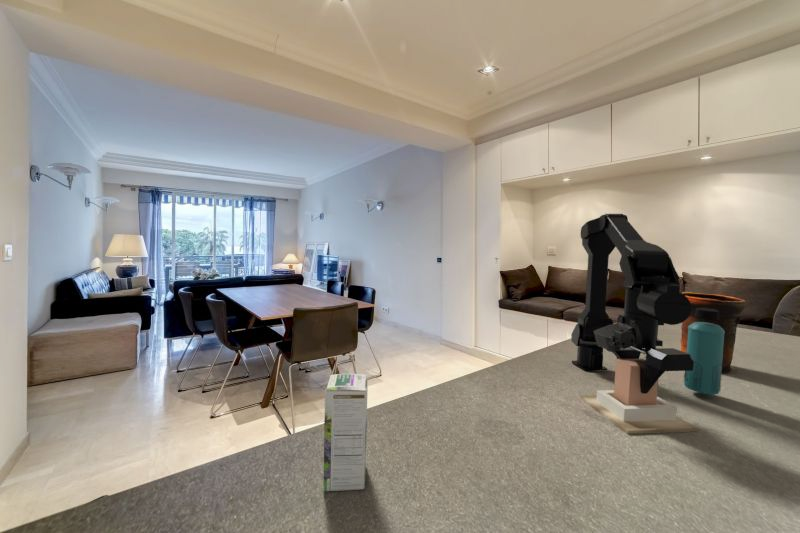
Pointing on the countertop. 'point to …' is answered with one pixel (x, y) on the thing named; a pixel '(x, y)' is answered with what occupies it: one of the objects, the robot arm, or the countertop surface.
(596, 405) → the socket base
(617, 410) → the socket collar
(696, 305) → the vessel
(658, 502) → the countertop surface
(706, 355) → the beverage bottle
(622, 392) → the terracotta peg
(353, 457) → the syrup box
